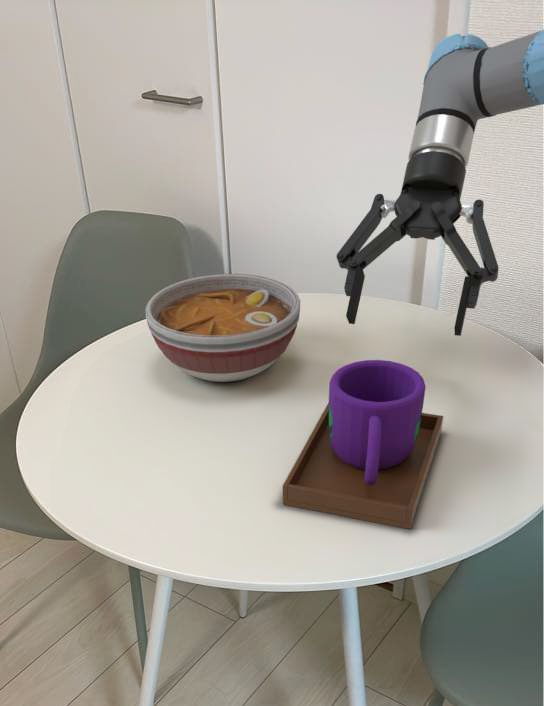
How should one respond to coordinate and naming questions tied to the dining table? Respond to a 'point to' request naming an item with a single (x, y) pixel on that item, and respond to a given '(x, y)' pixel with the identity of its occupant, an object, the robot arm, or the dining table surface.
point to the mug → (375, 414)
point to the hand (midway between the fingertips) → (402, 326)
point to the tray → (361, 479)
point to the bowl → (223, 324)
